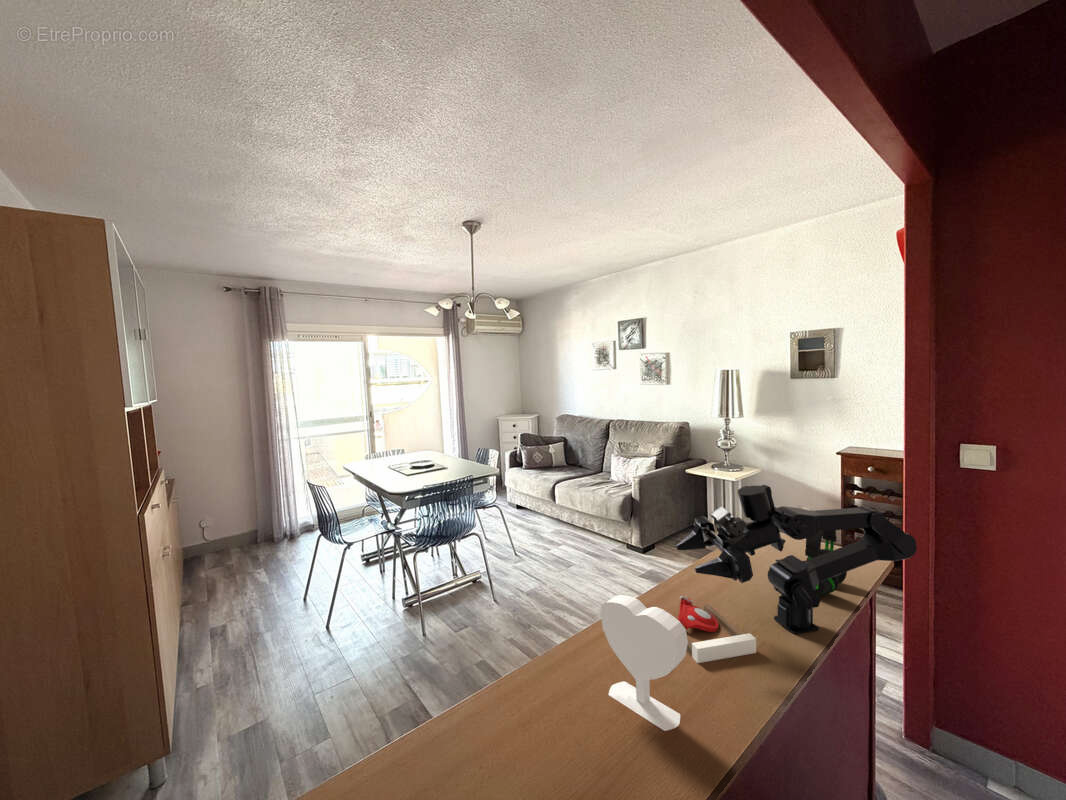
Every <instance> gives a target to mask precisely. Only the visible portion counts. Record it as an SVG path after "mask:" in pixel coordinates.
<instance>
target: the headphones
mask: <svg viewBox="0 0 1066 800" xmlns="http://www.w3.org/2000/svg"><path fill="white" fill-rule="evenodd" d="M822 540H824V542H825V546H824V548H821V547H822ZM835 543H837V530H831V531H822V532H818V533H817V534H816V535H815V536H813V537H809V538H806V539H805V550H804V555H805V556H806V557H807V558H806V560H809V559H811V558H814V557H817V556H819V555H822V554H825V553H828V552H830V551H833V550H835V549H834V546H835ZM805 556H804V557H805ZM806 560H805V561H806ZM847 574H848V571H847V572H844V573H842V574H839V575H836V576H834V577H831V578H828V579H826V580H823V581H821V582H819V584H818V585H817V587H816V589H815V590H814V592H815V593H816V594H817V595H818V596H826V595H830V594H831V593H834V592H835V591H836V590H837V589H838V587H839V585H840V584H842V583H843V582H844V581H845V580H846V577H847Z"/></svg>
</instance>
